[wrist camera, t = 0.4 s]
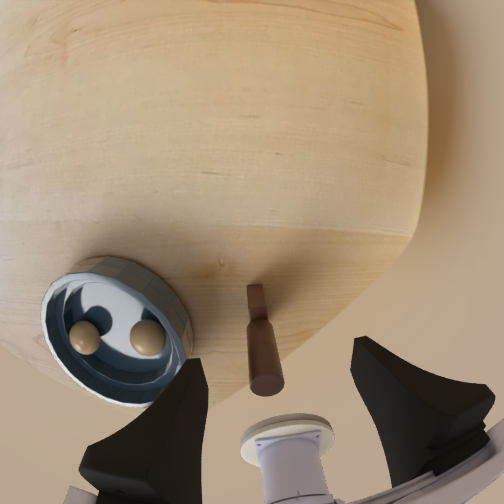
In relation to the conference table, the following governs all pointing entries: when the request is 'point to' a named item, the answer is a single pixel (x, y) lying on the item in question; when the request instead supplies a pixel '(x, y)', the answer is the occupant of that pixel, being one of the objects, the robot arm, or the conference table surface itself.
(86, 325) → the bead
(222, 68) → the conference table surface
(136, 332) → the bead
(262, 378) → the stir paddle
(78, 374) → the bowl
